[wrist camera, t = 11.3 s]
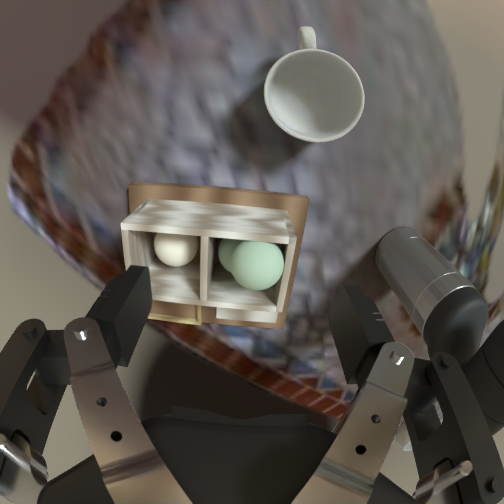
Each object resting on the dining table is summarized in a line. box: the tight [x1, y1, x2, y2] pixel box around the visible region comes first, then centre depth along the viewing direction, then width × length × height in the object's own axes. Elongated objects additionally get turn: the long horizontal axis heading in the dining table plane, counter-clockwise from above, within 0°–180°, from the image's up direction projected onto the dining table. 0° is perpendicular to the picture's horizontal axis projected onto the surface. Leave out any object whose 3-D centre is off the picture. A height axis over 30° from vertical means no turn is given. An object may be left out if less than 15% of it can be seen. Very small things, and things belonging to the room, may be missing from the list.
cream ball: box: [154, 232, 198, 267], centre depth 37 cm, size 6×6×6 cm
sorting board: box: [121, 182, 309, 329], centre depth 38 cm, size 25×23×10 cm
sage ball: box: [230, 240, 284, 290], centre depth 32 cm, size 6×6×6 cm
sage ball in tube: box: [218, 238, 244, 273], centre depth 37 cm, size 6×6×6 cm
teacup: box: [264, 27, 364, 143], centre depth 28 cm, size 14×11×8 cm
